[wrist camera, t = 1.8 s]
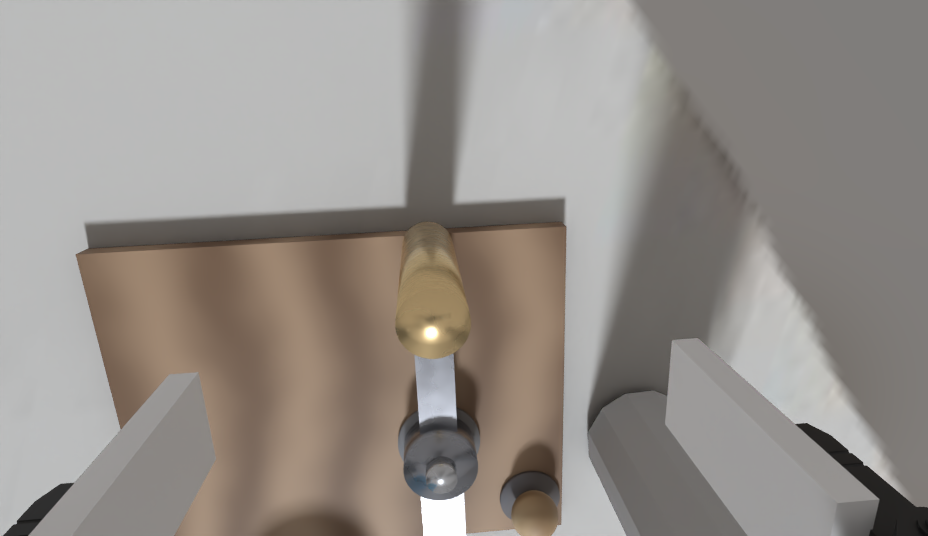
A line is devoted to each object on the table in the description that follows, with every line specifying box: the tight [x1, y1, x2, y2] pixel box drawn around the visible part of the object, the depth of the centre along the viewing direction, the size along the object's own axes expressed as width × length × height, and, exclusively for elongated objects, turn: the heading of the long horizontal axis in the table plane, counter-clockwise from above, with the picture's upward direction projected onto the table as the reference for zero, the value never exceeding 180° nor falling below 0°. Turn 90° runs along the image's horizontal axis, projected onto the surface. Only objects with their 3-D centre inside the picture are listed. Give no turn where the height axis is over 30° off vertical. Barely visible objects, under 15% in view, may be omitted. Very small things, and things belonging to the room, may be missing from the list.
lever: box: [395, 222, 478, 536], centre depth 29 cm, size 20×4×11 cm, turn 2°
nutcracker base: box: [76, 222, 566, 536], centre depth 34 cm, size 27×21×4 cm
